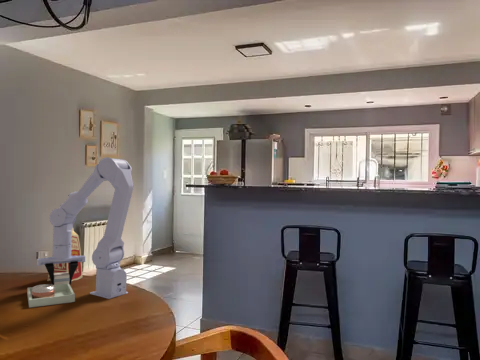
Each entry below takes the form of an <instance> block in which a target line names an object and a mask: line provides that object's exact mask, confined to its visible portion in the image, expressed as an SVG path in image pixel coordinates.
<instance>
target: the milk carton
mask: <svg viewBox="0 0 480 360" xmlns="http://www.w3.org/2000/svg"><path fill="white" fill-rule="evenodd" d="M74 229H75V228H74V227H73V228H72V242H71V256H82V249H81V242H80V235H79V234H78V233H77V232H75V231H74ZM53 265H54V273H65V272H68V273H69V263H59V264H53ZM80 279H83V262H78V267H77V268H76V270H75V272H74V275H73V278H72V281H71V282H73V281H78V280H80ZM46 281H47V282H49V281H51V280H50V276H49V274H48V275H47V280H46Z"/></svg>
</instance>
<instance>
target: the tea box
mask: <svg viewBox="0 0 480 360" xmlns="http://www.w3.org/2000/svg"><path fill="white" fill-rule="evenodd" d="M69 276H70V275H69V273H68V272H65V273H54V285H59V284H69V281H70V278H69Z"/></svg>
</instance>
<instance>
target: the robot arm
mask: <svg viewBox="0 0 480 360" xmlns="http://www.w3.org/2000/svg"><path fill="white" fill-rule="evenodd" d="M132 170H133V167H132V166H131V164H130V163H129V162H128V161H127V160H126V159H123V158H120V159H119V158H113V157H112V158H111V157H107V156H106V157H103V158H102V159H100V161H99V162H98V163H97V164H96V165H95V166H94V169H93V171H92V173H91V175H90V176H89V177H88V178H87V179H86V181H85V182H84V183H83V184H82V186H80V189H79V190H78V191H73V192H70V193H69V194H68V198H66V200H65V201H64V202H63V203H60V206H59V207H58V208H54V209H52V210H51V212H50V214H49V222H50V224H51V225H52V227H53V228H52V231H53V232H52V256H50V257H42V258H37V259H36V261H37V262H36V265H37V266H44V267H45V269H46V271H47V273H48V275H49V276H50V280H49V281H50V284H52V285H54V265H53V264H59V263H69V275H70V276H69V278H70V281H69V284H70V286H71V285H72V282H73V281H72V278H73V275H74V272H75V270H76V268H77V267H78V262H82V263H85V262H86V256H85V255H81V256H71V242H72V228H74V224H75V222H76V220H77V216H78V214H79V213H80V212H81V211H82V209H84V208H85V206H86V205H87V204H88V201H89V200H88V197H89V196H90V195H91V194H93V192H95V190H96V189H97V188H98V187H99V186H100V185H101V184H102V183H103V182H106V181H108V182H109V183H110V185H112V187H113V188H114V193H113V195H112V196H113V197H112V200H111V204H110V208H109V211H108V216H107V221H106V225H105V230H104V234H103V236H102V238H101V239H100V240H99V241H98V242H97V245H96V248H95V249H94V251H92V255H91V260H92V263H93V264H94V266H95V269H96V270H95V271H96V272H95V273H96V275H95V276H96V277H95V278H96V279H95V291H91V292H89V294H90V295H93V296H97V297H101V298H104V299H108V300H109V299H113V298H116V297H120V296H123V295H126V294H128V293H129V292H128V291H127V276H128V275H127V272H126V270H124V269H123V268H121V261H122V260H123V259H124V257H125V250H124V245H125V242H124V240H123V239H122V237H123V231H124V227H125V224H126V220H127V215H128V211H129V207H130V203H131V199H132V196H133V191H134V181H133V177H132Z"/></svg>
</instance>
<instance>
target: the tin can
mask: <svg viewBox="0 0 480 360" xmlns="http://www.w3.org/2000/svg"><path fill="white" fill-rule="evenodd" d="M32 287H33V288H32V299H37V298H46V297H54V296H55V285H52V284H51V283H46V284H37V285H35V286H32Z"/></svg>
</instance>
